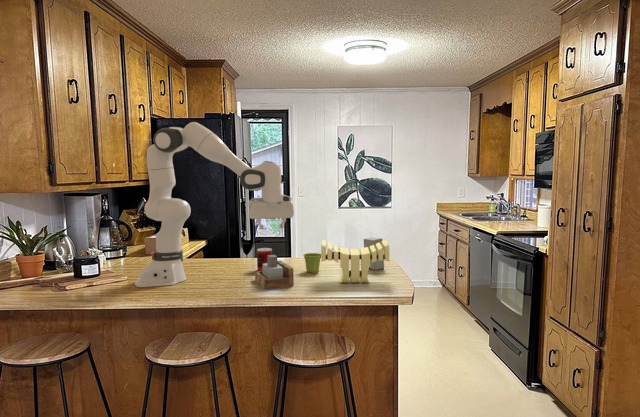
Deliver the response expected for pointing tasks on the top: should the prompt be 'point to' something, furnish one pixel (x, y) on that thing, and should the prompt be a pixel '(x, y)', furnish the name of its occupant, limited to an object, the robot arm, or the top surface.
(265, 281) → the brown wooden frame
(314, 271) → the plant pot
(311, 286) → the top surface
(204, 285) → the top surface
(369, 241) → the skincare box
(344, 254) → the slatted curved stool
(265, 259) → the canned food
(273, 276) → the cabinet block
